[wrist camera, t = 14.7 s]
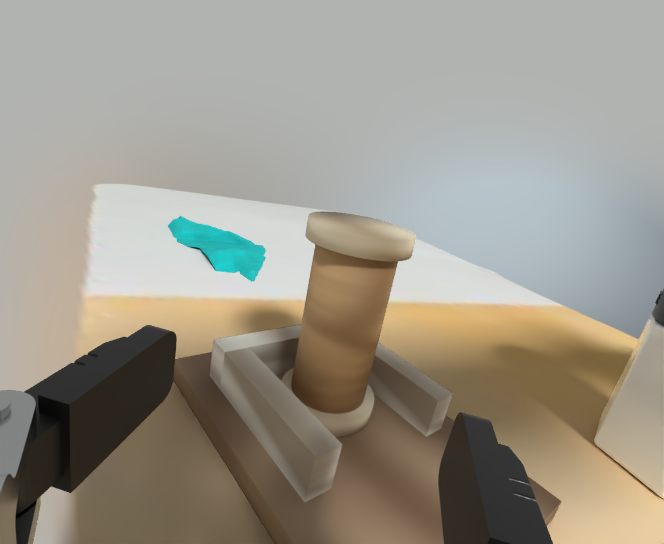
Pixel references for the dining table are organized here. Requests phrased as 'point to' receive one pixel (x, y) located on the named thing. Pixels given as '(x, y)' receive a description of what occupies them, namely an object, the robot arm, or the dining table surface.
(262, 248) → the cloth
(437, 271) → the dining table surface
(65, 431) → the robot arm
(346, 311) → the bobbin
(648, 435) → the jar
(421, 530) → the brown board with bracket
